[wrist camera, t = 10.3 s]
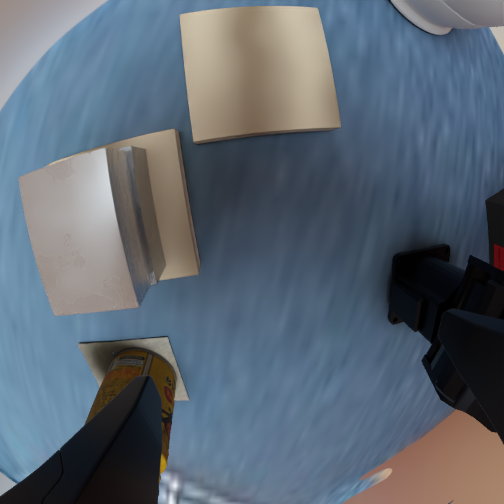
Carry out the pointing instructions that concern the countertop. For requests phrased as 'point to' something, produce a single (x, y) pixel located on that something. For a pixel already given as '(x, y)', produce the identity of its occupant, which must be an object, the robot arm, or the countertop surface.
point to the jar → (452, 14)
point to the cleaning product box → (496, 229)
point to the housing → (94, 230)
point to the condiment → (135, 364)
